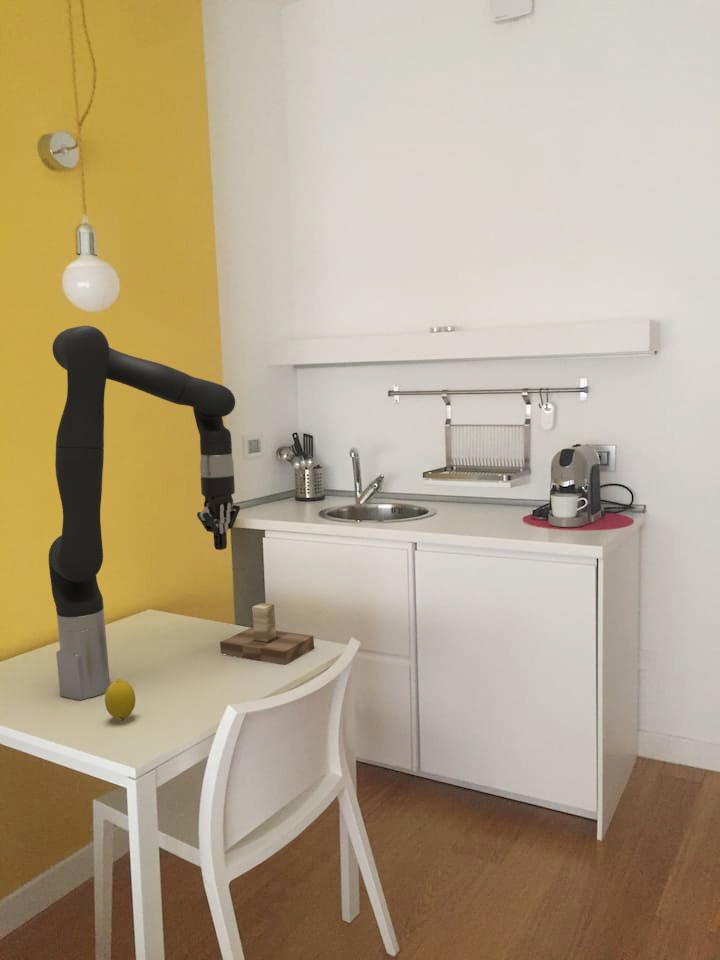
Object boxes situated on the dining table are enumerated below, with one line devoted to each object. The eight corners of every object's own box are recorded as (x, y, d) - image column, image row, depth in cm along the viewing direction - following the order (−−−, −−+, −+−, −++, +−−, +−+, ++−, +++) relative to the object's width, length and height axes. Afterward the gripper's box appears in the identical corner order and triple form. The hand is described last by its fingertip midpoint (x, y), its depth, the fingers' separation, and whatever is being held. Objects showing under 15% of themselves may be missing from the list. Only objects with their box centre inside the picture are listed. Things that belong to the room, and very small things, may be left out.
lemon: (138, 722, 155) (134, 681, 154) (107, 728, 154) (103, 686, 153) (135, 712, 161) (132, 672, 160) (106, 717, 159) (102, 677, 158)
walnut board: (284, 664, 183) (284, 651, 183) (220, 654, 192) (220, 642, 191) (314, 648, 193) (313, 635, 193) (252, 639, 202) (251, 627, 202)
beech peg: (267, 654, 190) (265, 608, 189) (254, 652, 192) (251, 607, 191) (277, 649, 193) (274, 604, 192) (264, 648, 195) (261, 602, 194)
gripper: (211, 477, 180) (214, 556, 182) (248, 471, 191) (251, 545, 193) (184, 476, 184) (188, 553, 186) (223, 470, 195) (226, 542, 197)
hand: (220, 549), depth 189 cm, fingers closed
